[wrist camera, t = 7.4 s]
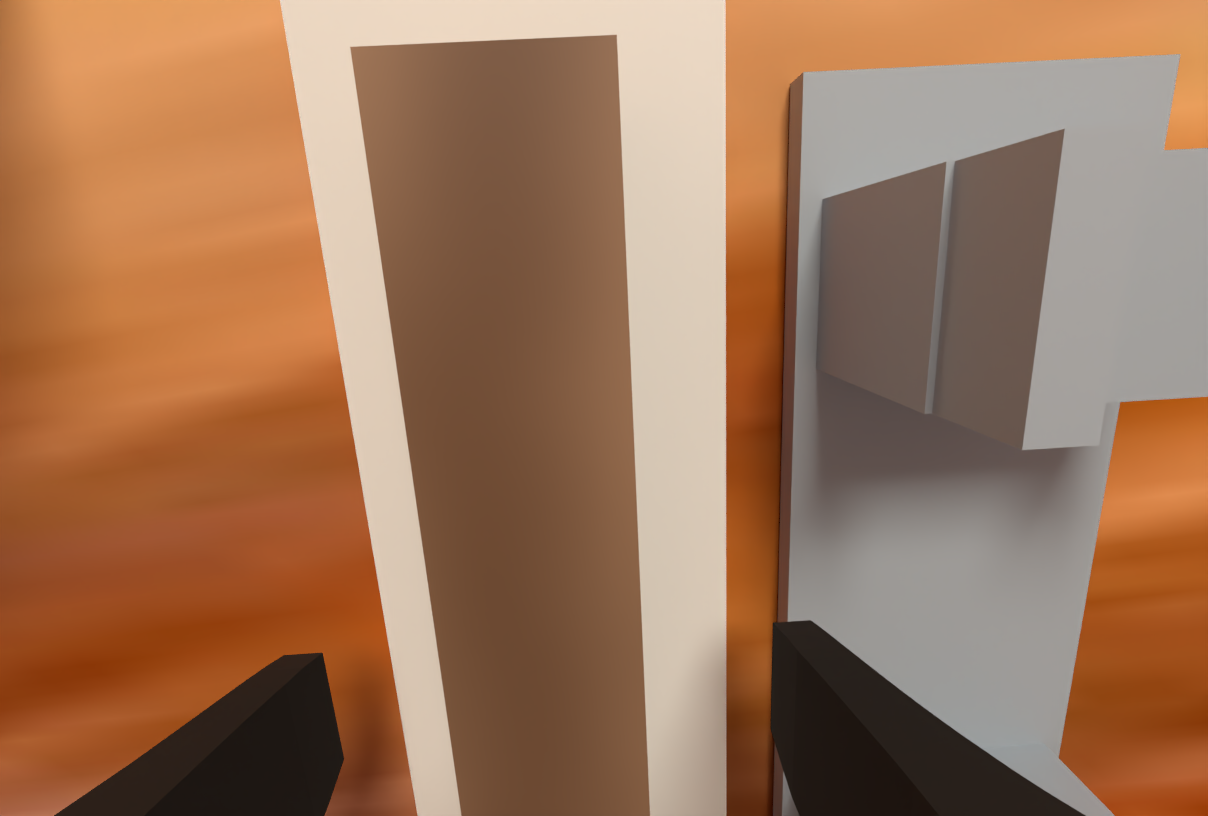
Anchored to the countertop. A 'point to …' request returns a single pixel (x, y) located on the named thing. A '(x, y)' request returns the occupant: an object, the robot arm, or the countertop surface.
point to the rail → (517, 405)
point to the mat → (657, 348)
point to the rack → (976, 368)
